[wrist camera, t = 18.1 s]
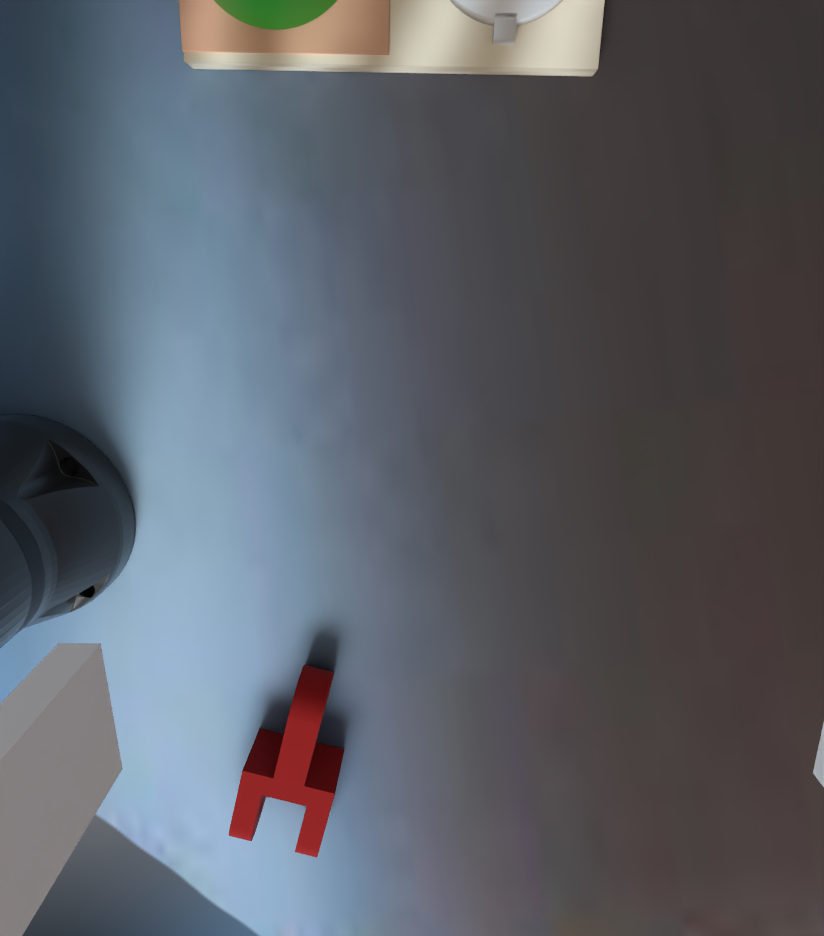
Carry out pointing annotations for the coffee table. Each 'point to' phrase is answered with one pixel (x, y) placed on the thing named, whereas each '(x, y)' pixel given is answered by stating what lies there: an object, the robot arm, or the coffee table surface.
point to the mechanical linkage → (292, 766)
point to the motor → (275, 12)
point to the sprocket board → (406, 38)
